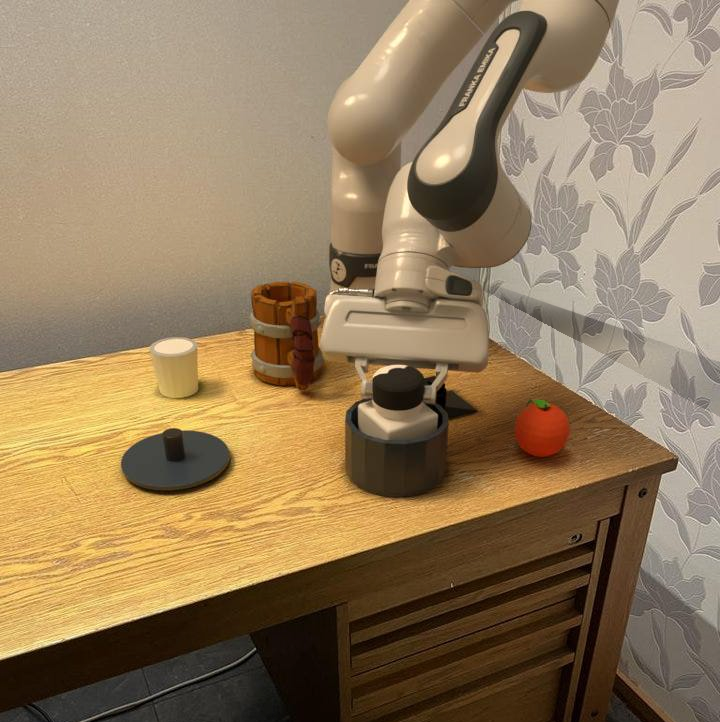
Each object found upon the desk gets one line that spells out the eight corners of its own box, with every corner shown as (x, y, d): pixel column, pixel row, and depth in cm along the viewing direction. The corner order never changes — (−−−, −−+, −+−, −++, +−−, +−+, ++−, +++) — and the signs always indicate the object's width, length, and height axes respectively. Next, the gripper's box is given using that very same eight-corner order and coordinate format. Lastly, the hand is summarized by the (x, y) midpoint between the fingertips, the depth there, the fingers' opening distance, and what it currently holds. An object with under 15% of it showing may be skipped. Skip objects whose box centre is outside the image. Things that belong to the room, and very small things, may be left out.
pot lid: (194, 427, 109) (190, 397, 106) (250, 467, 101) (248, 435, 98) (103, 462, 102) (96, 430, 99) (156, 508, 93) (150, 474, 91)
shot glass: (197, 400, 116) (192, 356, 112) (150, 399, 116) (143, 355, 112) (206, 379, 121) (201, 336, 117) (161, 378, 121) (155, 335, 118)
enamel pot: (396, 434, 108) (398, 384, 104) (464, 471, 100) (469, 419, 96) (325, 466, 101) (324, 414, 97) (393, 509, 93) (395, 455, 89)
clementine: (498, 440, 107) (504, 392, 103) (544, 432, 108) (552, 385, 105) (527, 471, 100) (534, 421, 96) (575, 461, 102) (584, 413, 98)
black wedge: (401, 432, 108) (401, 402, 106) (376, 409, 114) (376, 380, 111) (477, 412, 113) (480, 382, 110) (450, 391, 118) (452, 362, 116)
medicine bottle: (436, 462, 99) (441, 378, 91) (387, 481, 96) (388, 395, 88) (404, 435, 103) (407, 352, 96) (357, 451, 101) (356, 368, 93)
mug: (310, 351, 130) (307, 261, 122) (343, 396, 117) (342, 297, 109) (245, 361, 127) (237, 268, 118) (272, 407, 114) (265, 307, 106)
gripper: (322, 274, 95) (307, 384, 93) (495, 285, 93) (484, 398, 90) (330, 297, 102) (316, 401, 99) (492, 307, 99) (482, 414, 96)
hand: (398, 400), depth 94 cm, fingers closed on medicine bottle, 6 cm apart
